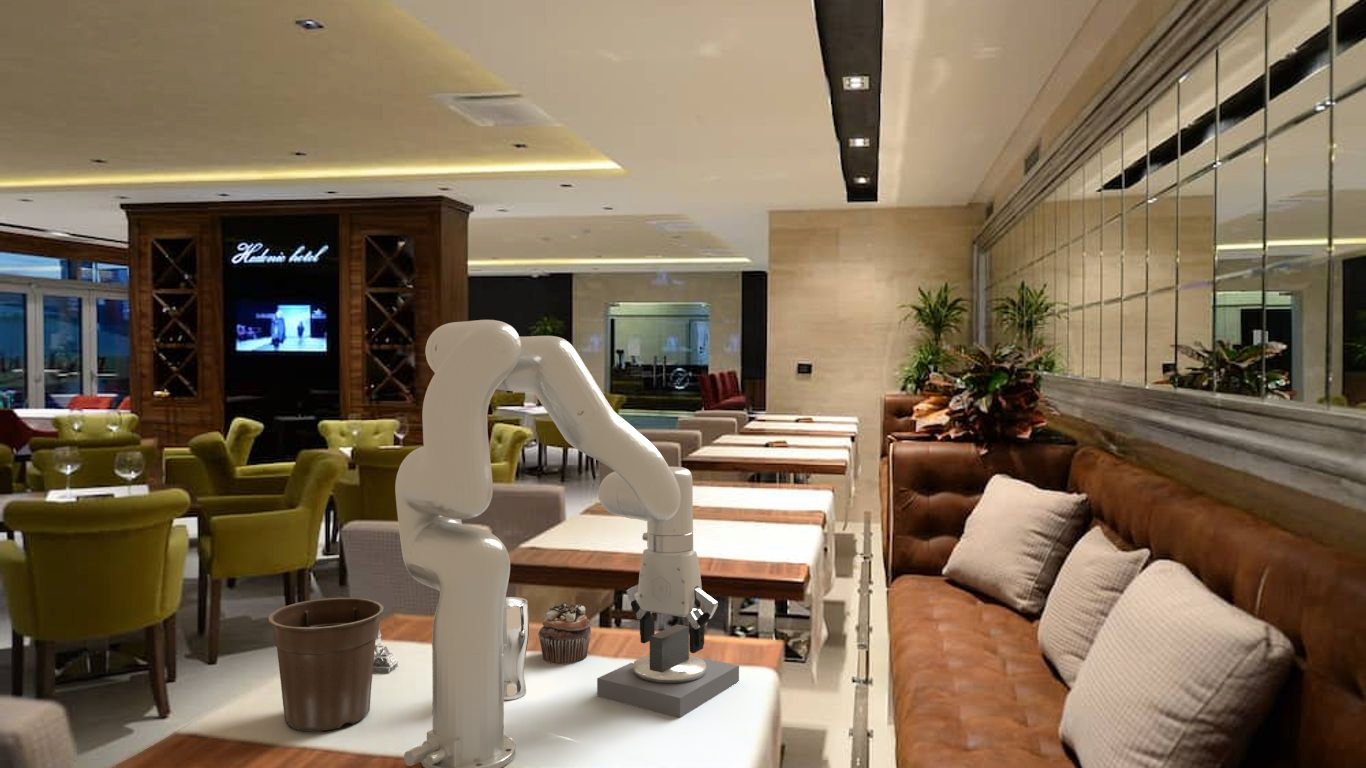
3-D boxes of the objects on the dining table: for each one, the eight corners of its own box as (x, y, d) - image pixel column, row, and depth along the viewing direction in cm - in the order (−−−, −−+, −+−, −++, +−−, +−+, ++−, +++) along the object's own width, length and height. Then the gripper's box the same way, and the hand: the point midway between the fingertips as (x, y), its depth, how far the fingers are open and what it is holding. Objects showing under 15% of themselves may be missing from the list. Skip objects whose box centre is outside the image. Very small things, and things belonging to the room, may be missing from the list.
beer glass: (519, 703, 145) (519, 608, 145) (478, 699, 147) (478, 606, 146) (535, 687, 152) (535, 597, 152) (495, 685, 154) (495, 595, 153)
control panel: (680, 717, 140) (680, 696, 139) (597, 696, 148) (597, 676, 148) (738, 683, 155) (739, 664, 155) (660, 666, 163) (660, 648, 163)
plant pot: (376, 733, 133) (376, 623, 133) (257, 742, 130) (256, 629, 130) (389, 694, 149) (388, 595, 149) (283, 701, 146) (282, 600, 146)
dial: (680, 688, 143) (680, 646, 143) (618, 674, 150) (618, 634, 149) (719, 667, 153) (719, 628, 153) (660, 654, 160) (660, 617, 160)
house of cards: (419, 660, 167) (419, 618, 167) (398, 676, 159) (398, 632, 159) (373, 658, 169) (372, 616, 169) (349, 673, 160) (349, 630, 160)
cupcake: (596, 651, 172) (596, 598, 171) (583, 668, 162) (583, 612, 162) (547, 649, 173) (547, 596, 173) (531, 665, 164) (531, 609, 163)
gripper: (614, 541, 153) (615, 643, 153) (703, 552, 143) (704, 661, 144) (640, 533, 159) (642, 631, 159) (727, 544, 149) (728, 648, 150)
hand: (671, 645), depth 152 cm, fingers open, 9 cm apart
